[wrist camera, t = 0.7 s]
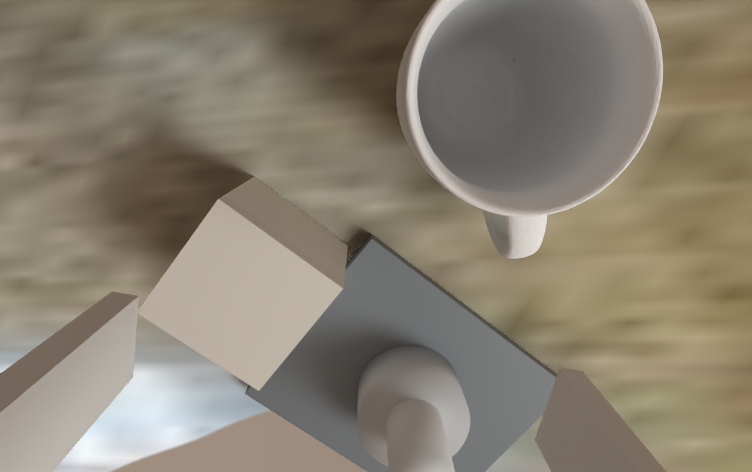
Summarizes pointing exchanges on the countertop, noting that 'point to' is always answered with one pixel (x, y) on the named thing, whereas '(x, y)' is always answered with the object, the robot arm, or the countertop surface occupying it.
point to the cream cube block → (249, 282)
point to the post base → (400, 321)
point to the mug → (529, 104)
